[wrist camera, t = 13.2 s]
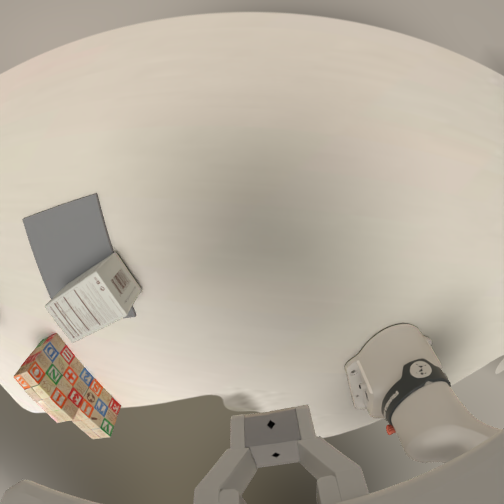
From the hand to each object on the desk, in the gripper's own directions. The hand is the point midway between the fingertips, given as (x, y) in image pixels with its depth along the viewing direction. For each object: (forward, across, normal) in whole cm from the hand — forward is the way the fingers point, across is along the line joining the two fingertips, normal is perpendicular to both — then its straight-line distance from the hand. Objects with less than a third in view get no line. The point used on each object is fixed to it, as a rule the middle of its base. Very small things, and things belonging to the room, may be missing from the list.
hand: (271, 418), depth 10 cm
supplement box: (+27, -18, -4) cm, 33 cm away
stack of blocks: (+32, -40, -25) cm, 57 cm away
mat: (+31, -28, -2) cm, 42 cm away
